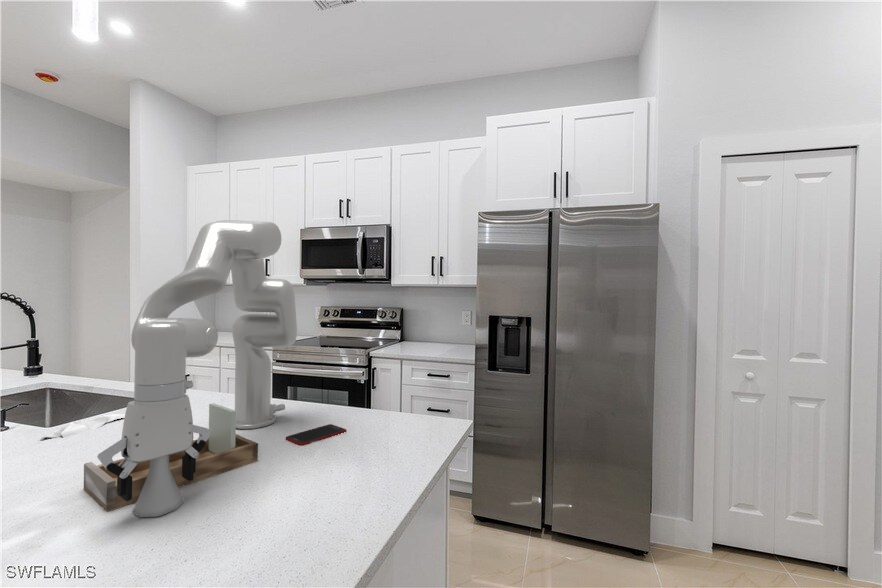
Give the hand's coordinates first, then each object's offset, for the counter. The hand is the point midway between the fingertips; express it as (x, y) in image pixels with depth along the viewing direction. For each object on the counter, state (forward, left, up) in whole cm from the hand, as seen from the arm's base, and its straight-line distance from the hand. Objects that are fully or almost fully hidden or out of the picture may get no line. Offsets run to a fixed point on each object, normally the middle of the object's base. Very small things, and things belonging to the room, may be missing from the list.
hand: (158, 488), depth 75 cm
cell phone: (-41, -9, -4) cm, 42 cm away
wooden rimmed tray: (-8, -12, -4) cm, 15 cm away
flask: (0, 0, -4) cm, 4 cm away
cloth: (-7, -64, -5) cm, 65 cm away
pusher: (-17, -12, -2) cm, 21 cm away
